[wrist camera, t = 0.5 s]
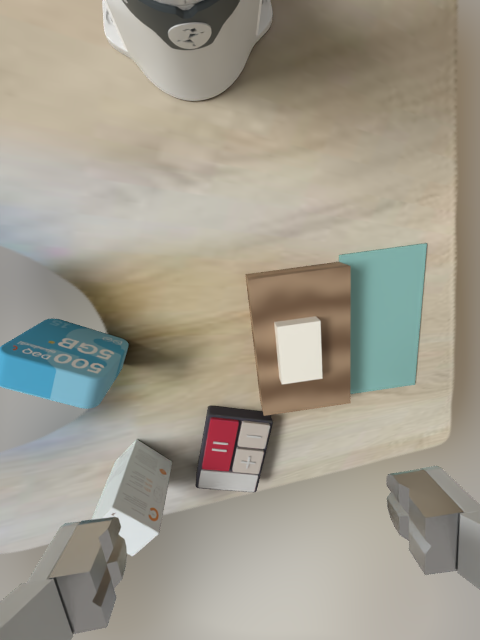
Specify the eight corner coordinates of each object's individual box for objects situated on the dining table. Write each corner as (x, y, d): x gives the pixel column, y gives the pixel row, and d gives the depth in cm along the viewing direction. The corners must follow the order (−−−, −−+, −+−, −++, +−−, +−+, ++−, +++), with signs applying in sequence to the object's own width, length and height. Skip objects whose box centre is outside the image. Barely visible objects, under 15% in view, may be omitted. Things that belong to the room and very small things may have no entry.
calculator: (274, 423, 49) (256, 496, 53) (269, 409, 53) (253, 477, 57) (207, 416, 47) (194, 491, 51) (208, 402, 51) (196, 472, 55)
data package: (131, 340, 46) (103, 381, 34) (124, 365, 47) (94, 412, 36) (50, 315, 44) (-9, 350, 32) (45, 342, 45) (-14, 384, 34)
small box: (115, 460, 53) (83, 533, 41) (137, 438, 52) (111, 506, 39) (151, 482, 55) (132, 558, 43) (173, 461, 54) (160, 533, 42)
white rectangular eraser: (274, 322, 42) (276, 327, 40) (315, 316, 42) (320, 320, 40) (279, 377, 45) (281, 384, 43) (318, 371, 45) (322, 378, 43)
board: (245, 274, 44) (248, 280, 40) (339, 261, 44) (350, 265, 40) (260, 401, 51) (263, 415, 47) (340, 389, 51) (350, 403, 47)
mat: (339, 255, 44) (339, 255, 43) (425, 243, 44) (426, 243, 44) (340, 394, 52) (341, 395, 51) (413, 383, 52) (414, 384, 52)
